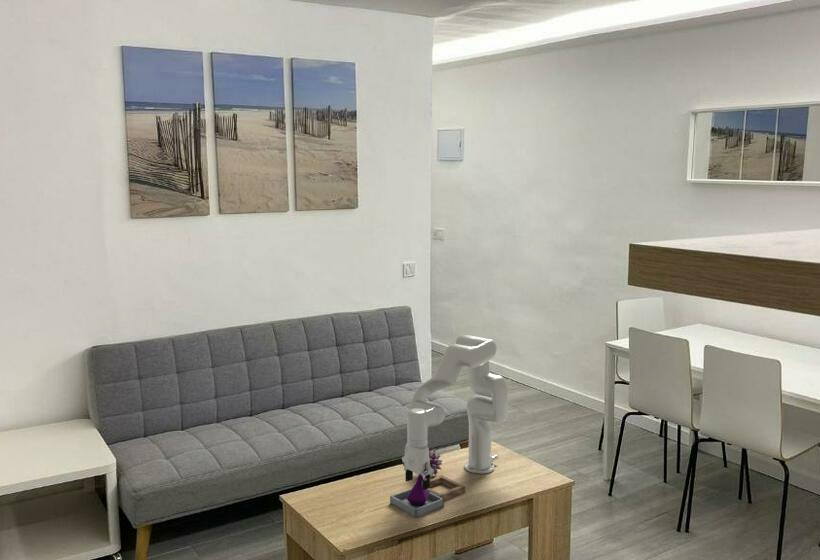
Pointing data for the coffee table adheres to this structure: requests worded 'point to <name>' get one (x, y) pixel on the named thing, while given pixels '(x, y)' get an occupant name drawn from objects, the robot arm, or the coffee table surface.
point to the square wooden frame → (450, 483)
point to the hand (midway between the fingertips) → (417, 484)
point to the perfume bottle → (418, 493)
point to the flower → (434, 461)
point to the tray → (416, 511)
